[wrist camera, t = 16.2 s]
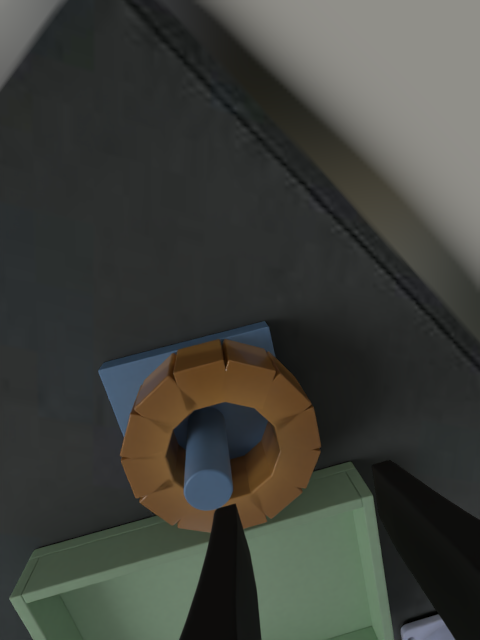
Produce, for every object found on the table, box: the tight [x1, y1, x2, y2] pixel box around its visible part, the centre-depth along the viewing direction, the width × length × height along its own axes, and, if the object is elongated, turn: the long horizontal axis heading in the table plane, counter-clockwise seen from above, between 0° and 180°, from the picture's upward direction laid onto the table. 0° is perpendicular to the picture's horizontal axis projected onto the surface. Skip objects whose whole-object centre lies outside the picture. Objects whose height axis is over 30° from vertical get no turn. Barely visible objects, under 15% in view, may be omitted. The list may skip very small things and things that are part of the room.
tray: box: [10, 462, 394, 640], centre depth 20 cm, size 18×13×3 cm
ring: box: [120, 339, 321, 533], centre depth 15 cm, size 8×8×3 cm
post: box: [98, 321, 276, 511], centre depth 15 cm, size 8×8×6 cm
